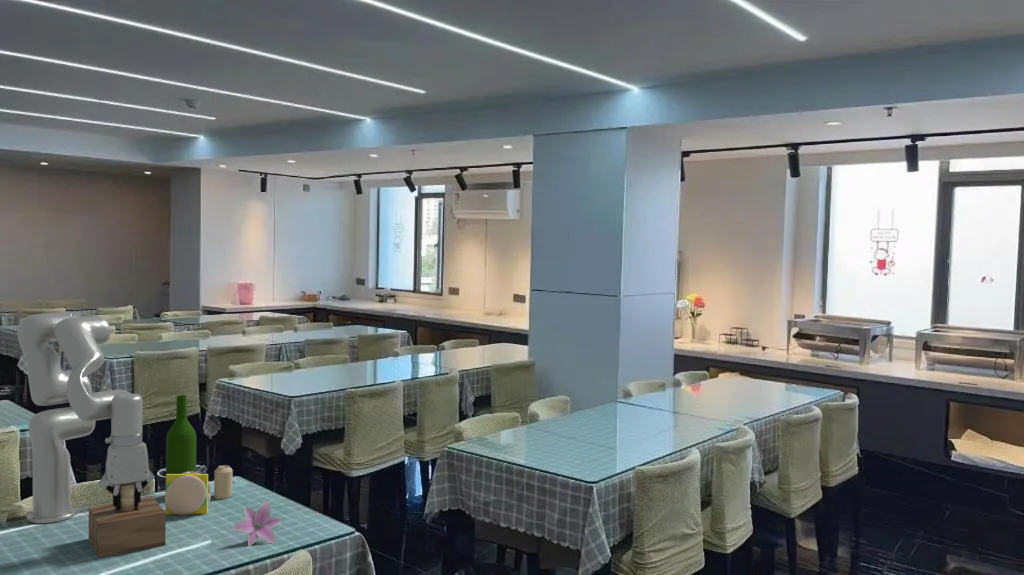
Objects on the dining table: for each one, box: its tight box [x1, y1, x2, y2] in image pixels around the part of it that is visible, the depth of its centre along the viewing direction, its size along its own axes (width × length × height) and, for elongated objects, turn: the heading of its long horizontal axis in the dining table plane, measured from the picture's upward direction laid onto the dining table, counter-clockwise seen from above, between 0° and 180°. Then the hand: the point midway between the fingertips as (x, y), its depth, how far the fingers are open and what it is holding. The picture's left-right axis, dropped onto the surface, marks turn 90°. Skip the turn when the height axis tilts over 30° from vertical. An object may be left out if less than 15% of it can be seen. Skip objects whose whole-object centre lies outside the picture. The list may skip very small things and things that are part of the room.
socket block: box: [88, 496, 167, 559], centre depth 207 cm, size 16×16×9 cm
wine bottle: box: [165, 394, 197, 475], centre depth 246 cm, size 9×9×32 cm
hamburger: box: [164, 471, 212, 516], centre depth 232 cm, size 12×8×12 cm
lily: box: [232, 499, 283, 547], centre depth 211 cm, size 12×12×10 cm
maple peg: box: [119, 483, 135, 512], centre depth 207 cm, size 4×4×7 cm
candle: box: [213, 464, 234, 500], centre depth 247 cm, size 6×6×10 cm
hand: (126, 506), depth 207 cm, fingers closed on maple peg, 3 cm apart
